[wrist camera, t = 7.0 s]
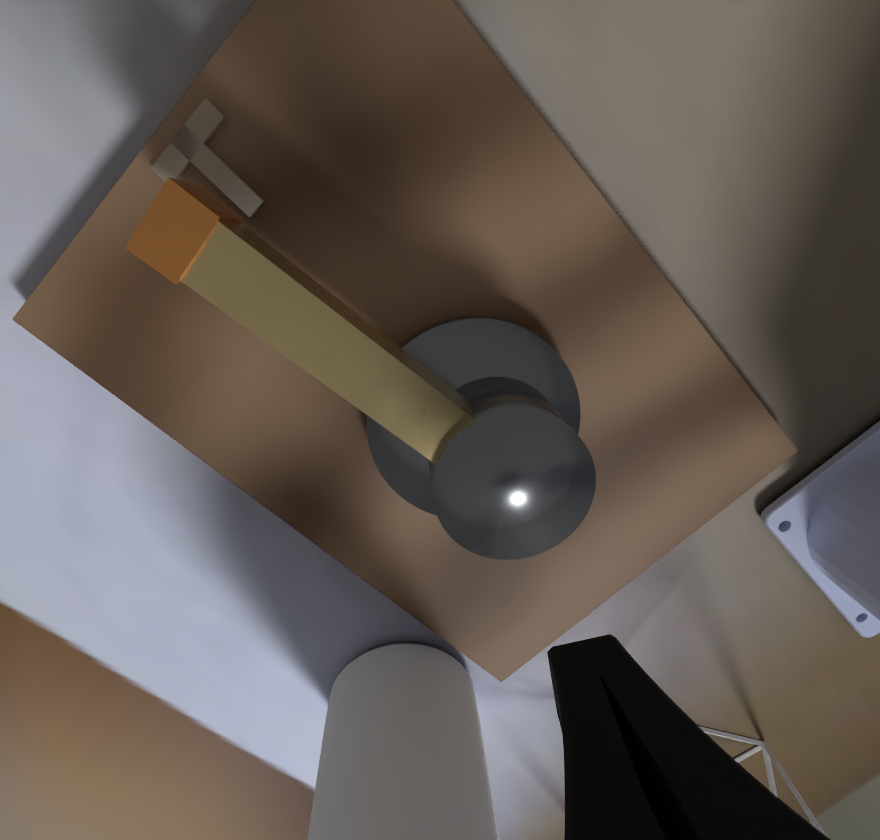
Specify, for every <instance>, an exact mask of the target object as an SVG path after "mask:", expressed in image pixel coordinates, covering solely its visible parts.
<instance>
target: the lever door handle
mask: <svg viewBox="0 0 880 840" xmlns="http://www.w3.org/2000/svg"><path fill="white" fill-rule="evenodd" d="M242 221H243V218H242V217H241V216H239V215H238V214H237V213H236V212H234V211H233V210H232V209H231V208H229V207H228V206H227V205H225V204H224V203H223V202H222V201H220V200H219V199H218V198H217V197H215V196H214V195H213V194H211V193H210V192H209V191H208V190H206V189H205V188H204V187H203V186H201V185H200V184H196V183H191V182H187V181H182V180H178V179H173V178H167V180H166V182H165V183H164V185H163V187H162V188H161V190H160V192H159V193H158V195H157V196H156V198H155V200H154V201H153V203H152V205H151V206H150V208H149V210H148V211H147V213H146V214H145V216H144V218H143V219H142V221H141V223H140V224H139V226H138V228H137V229H136V231H135V232H134V234H133V236H132V237H131V239H130V241H129V242H128V244H127V246H126V247H125V249H127V250H128V251H130V252H131V253H132V254H134V255H135V256H137V257H138V258H139V259H141V260H142V261H144V262H145V263H146V264H148V265H149V266H151V267H152V268H153V269H155V270H156V271H158V272H159V273H160V274H162V275H163V276H165V277H166V278H167V279H169V280H170V281H172V282H173V283H174V284H180V283H184V284H186V285H187V286H188V287H190V288H191V289H192V290H194V291H195V292H197V293H198V294H199V295H201V296H202V297H204V298H205V299H206V300H208V301H209V302H211V303H212V304H213V305H215V306H216V307H218V308H219V309H220V310H222V311H223V312H224V313H226V314H227V315H229V316H230V317H231V318H233V319H234V320H236V321H237V322H238V323H240V324H241V325H243V326H244V327H245V328H247V329H248V330H249V331H251V332H252V333H254V334H255V335H256V336H258V337H259V338H261V339H262V340H263V341H265V342H266V343H268V344H269V345H270V346H272V347H273V348H275V349H276V350H277V351H279V352H280V353H281V354H283V355H284V356H286V357H287V358H288V359H290V360H291V361H293V362H294V363H295V364H297V365H298V366H300V367H301V368H302V369H304V370H305V371H306V372H308V373H309V374H311V375H312V376H313V377H315V378H316V379H318V380H319V381H320V382H322V383H323V384H325V385H326V386H327V387H329V388H330V389H332V390H333V391H334V392H336V393H337V394H338V395H340V396H341V397H343V398H344V399H345V400H347V401H348V402H350V403H351V404H352V405H354V406H355V407H357V408H358V409H359V410H361V411H362V412H363V413H365V414H366V415H367V438H368V443H369V448H370V452H371V455H372V457H373V460H374V462H375V465H376V466H377V468H378V470H379V472H380V474H381V475H382V477H383V478H384V479H385V481H386V482H387V483H388V485H389V486H390V487H391V488H392V489H393V490H394V491H395V492H396V493H397V494H398V495H399V496H401V497H402V498H403V499H404V500H406V501H407V502H408V503H410V504H412V505H414V506H415V507H417V508H419V509H421V510H423V511H425V512H428V513H430V514H433V515H437V516H438V519H439V521H440V523H441V525H442V527H443V528H444V530H445V531H446V532H447V534H448V535H449V536H450V537H451V538H452V539H453V540H454V541H455V542H456V543H458V544H459V545H460V546H462V547H463V548H465V549H467V550H468V551H470V552H472V553H475V554H477V555H480V556H483V557H487V558H492V559H498V560H515V559H522V558H528V557H532V556H535V555H538V554H541V553H543V552H546V551H548V550H550V549H551V548H553V547H555V546H557V545H558V544H560V543H561V542H563V541H564V540H565V539H566V538H568V537H569V536H570V535H571V534H572V533H573V532H574V531H575V530H576V529H577V528H578V527H579V525H580V524H581V523H582V521H583V520H584V518H585V517H586V515H587V513H588V511H589V509H590V507H591V504H592V502H593V498H594V494H595V488H596V471H595V466H594V462H593V459H592V456H591V454H590V452H589V450H588V448H587V446H586V445H585V443H584V442H583V441H582V440H581V438H580V437H579V436H578V433H579V429H580V417H581V412H580V400H579V395H578V390H577V387H576V384H575V381H574V379H573V376H572V374H571V372H570V370H569V369H568V367H567V365H566V363H565V362H564V361H563V359H562V358H561V357H560V355H559V354H558V353H557V352H556V351H555V350H554V349H553V348H552V347H551V346H550V345H549V344H548V343H547V342H545V341H544V340H543V339H541V338H540V337H539V336H537V335H536V334H535V333H534V332H532V331H530V330H528V329H527V328H525V327H523V326H521V325H519V324H516V323H514V322H511V321H508V320H504V319H500V318H496V317H488V316H463V317H457V318H452V319H448V320H445V321H441V322H438V323H435V324H433V325H431V326H429V327H427V328H425V329H423V330H421V331H419V332H418V333H416V334H415V335H413V336H412V337H410V338H409V339H408V340H407V341H405V342H404V343H403V344H402V345H400V346H398V345H396V344H395V343H394V342H392V341H391V340H390V339H389V338H387V337H386V336H385V335H384V334H382V333H381V332H380V331H378V330H377V329H376V328H375V327H373V326H372V325H371V324H370V323H368V322H367V321H366V320H364V319H363V318H362V317H361V316H359V315H358V314H357V313H355V312H354V311H353V310H352V309H350V308H349V307H348V306H347V305H345V304H344V303H343V302H341V301H340V300H339V299H338V298H336V297H335V296H334V295H333V294H331V293H330V292H329V291H327V290H326V289H325V288H324V287H322V286H321V285H320V284H318V283H317V282H316V281H315V280H313V279H312V278H311V277H310V276H308V275H307V274H306V273H304V272H303V271H302V270H301V269H299V268H298V267H297V266H296V265H294V264H293V263H292V262H290V261H289V260H288V259H287V258H285V257H284V256H283V255H282V254H280V253H279V252H278V251H276V250H275V249H274V248H273V247H271V246H270V245H269V244H267V243H266V242H265V241H264V240H262V239H261V238H260V237H259V236H257V235H256V234H255V233H253V232H252V231H251V230H250V229H248V228H247V227H246V226H245V225H243V224H242V223H241V222H242Z"/></svg>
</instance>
